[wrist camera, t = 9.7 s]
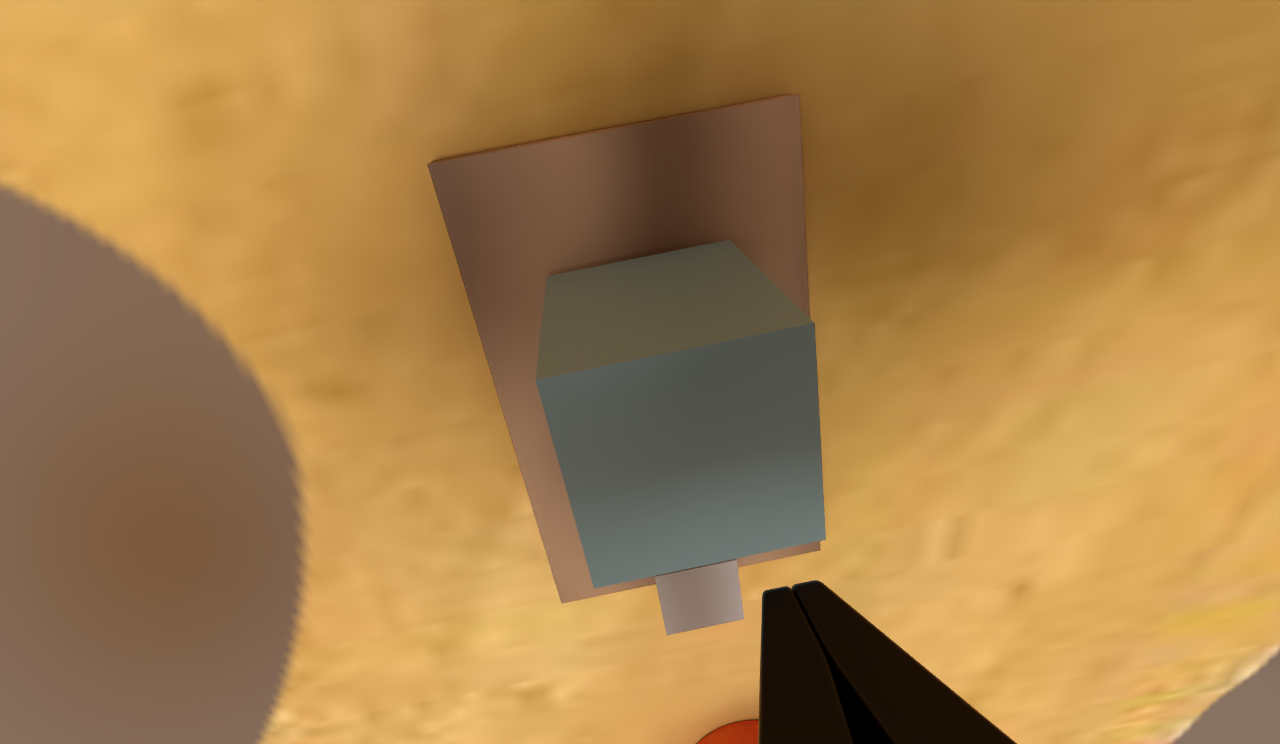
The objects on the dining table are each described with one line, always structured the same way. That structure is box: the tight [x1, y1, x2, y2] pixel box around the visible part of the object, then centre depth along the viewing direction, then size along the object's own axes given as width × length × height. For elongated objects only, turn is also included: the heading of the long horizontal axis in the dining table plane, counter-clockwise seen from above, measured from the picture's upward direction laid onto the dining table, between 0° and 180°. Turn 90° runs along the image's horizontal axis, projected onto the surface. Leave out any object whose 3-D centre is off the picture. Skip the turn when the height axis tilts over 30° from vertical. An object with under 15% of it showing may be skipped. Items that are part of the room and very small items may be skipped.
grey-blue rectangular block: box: [536, 240, 826, 589], centre depth 15 cm, size 5×5×7 cm
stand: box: [427, 94, 820, 635], centre depth 17 cm, size 10×16×7 cm, turn 10°
